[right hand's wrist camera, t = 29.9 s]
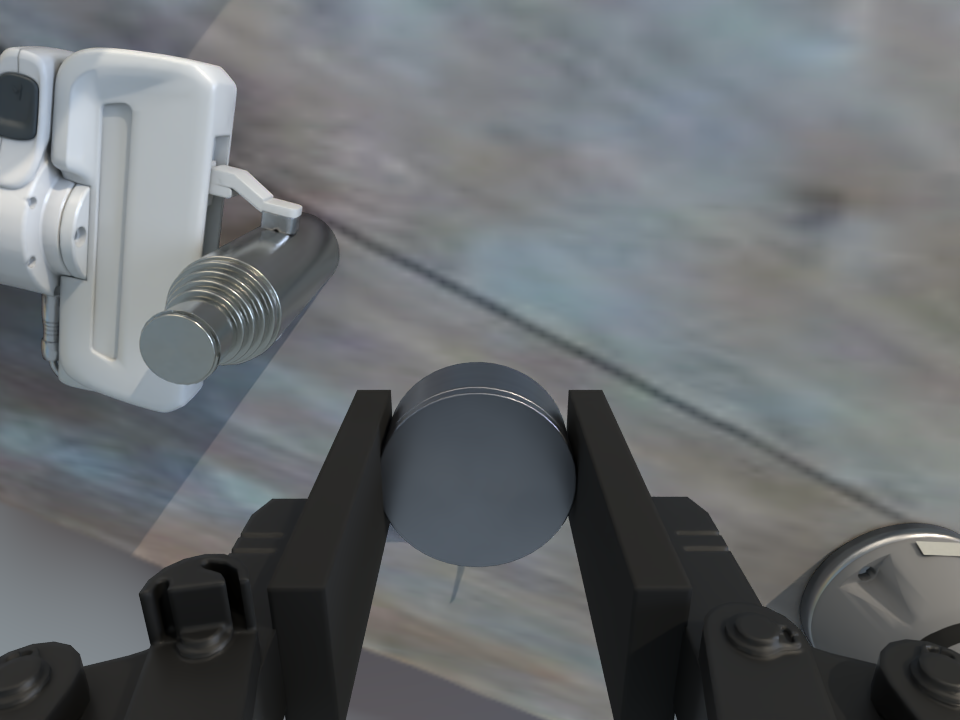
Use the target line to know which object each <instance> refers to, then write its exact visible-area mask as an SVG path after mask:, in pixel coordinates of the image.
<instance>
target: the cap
mask: <svg viewBox="0 0 960 720" xmlns="http://www.w3.org/2000/svg"><path fill="white" fill-rule="evenodd" d="M380 459H381V476H382V492H383V508H384V513H385V514H386V516H387V518H388V520H389V522H390V523H391V525H392V526H393V527H394V529H395V530H396V531H397V533H398V534H399V535H400V536H401V537H402V538H403V539H404V540H405V541H407V542H408V543H409V544H410V545H412V546H413V547H414V548H416V549H417V550H419V551H421V552H422V553H424V554H426V555H428V556H430V557H432V558H434V559H437V560H440V561H443V562H446V563H449V564H454V565H459V566H468V567H487V566H495V565H500V564H505V563H509V562H512V561H515V560H517V559H520V558H522V557H524V556H526V555H529V554H531V553H532V552H534V551H535V550H537V549H539V548H540V547H542V546H543V545H544V544H545V543H546V542H548V541H549V540H550V539H551V538H552V537H553V536H554V535H555V534H556V533H557V532H558V530H559V529H560V528H561V526H562V525H563V523H564V522H565V520H566V519H567V517H568V515H569V513H570V511H571V508H572V505H573V503H574V500H575V495H576V489H577V471H576V464H575V460H574V457H573V453H572V449H571V446H570V442H569V439H568V435H567V431H566V428H565V424H564V421H563V418H562V415H561V413H560V411H559V408H558V407H557V405H556V404H555V402H554V400H553V399H552V398H551V396H550V395H549V394H548V393H547V391H546V390H545V389H544V388H542V387H541V386H540V385H539V384H538V383H537V382H536V381H534V380H533V379H531V378H530V377H528V376H527V375H525V374H523V373H521V372H519V371H517V370H514V369H512V368H509V367H506V366H502V365H498V364H494V363H485V362H469V363H462V364H456V365H452V366H448V367H445V368H443V369H440V370H438V371H435V372H433V373H432V374H430V375H428V376H426V377H424V378H423V379H422V380H420V381H419V382H418V383H416V384H415V385H414V386H413V387H412V388H411V389H410V390H409V391H408V392H407V393H406V395H405V396H404V397H403V398H402V400H401V401H400V403H399V404H398V406H397V408H396V410H395V412H394V415H393V417H392V420H391V423H390V426H389V430H388V433H387V436H386V440H385V443H384V446H383V450H382V453H381V458H380Z"/></svg>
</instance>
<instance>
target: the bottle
mask: <svg viewBox="0 0 960 720" xmlns="http://www.w3.org/2000/svg"><path fill="white" fill-rule="evenodd" d="M338 261H339V247H338V243H337V240H336V237H335V235H334V233H333V232H332V230H331V229H330V228H329V226H328V225H327V224H326V223H325V222H323V221H322V220H321V219H319V218H317V217H316V216H314V215H311V214H308V213H305V212H302V214H301V219H300V224H299V230H298V232H296V233H295V234H284V233H282V232H279V231H278V230H277V229H275V230H268V229H264V228H261V226H259V227H257V228H256V229H254V230H252V231H250V232H248V233H246V234H244V235H242V236H241V237H239V238H237V239H235V240H233V241H231V242H229V243H228V244H226V245H224V246H222V247H220V248H218V249H216V250H215V251H213V252H211V253H209V254H207V255H205V256H203V257H201V258H200V259H198V260H196V261H194V262H192V263H191V264H189V265H188V266H187V267H185V268H184V269H183V270H182V271H181V272H180V273H179V275H178V276H177V277H176V279H175V280H174V281H173V283H172V284H171V286H170V289H169V291H168V294H167V299H166V305H165V309H164V311H162V312H160V313H157V314H155V315H154V316H152V317H151V318H150V319H149V320H148V321H147V322H146V323H145V325H144V327H143V329H142V331H141V335H140V340H139V347H140V352H141V356H142V358H143V360H144V362H145V363H146V365H147V366H148V367H149V369H150V370H151V371H152V372H153V373H155V374H156V375H157V376H159V377H160V378H162V379H164V380H166V381H168V382H172V383H175V384H180V385H191V384H197V383H199V382H201V381H203V380H205V379H206V378H207V377H209V376H210V375H211V374H212V373H213V372H214V371H215V370H216V368H217V367H218V366H220V365H234V364H240V363H244V362H247V361H249V360H251V359H253V358H255V357H257V356H259V355H261V354H262V353H264V352H265V351H267V350H268V349H269V348H270V347H271V346H272V344H273V343H274V342H275V341H276V340H277V339H278V337H279V336H280V335H281V334H282V333H283V332H284V331H285V329H286V328H287V327H288V326H289V325H290V324H291V322H292V321H293V320H294V319H295V318H296V317H297V315H298V314H299V313H300V312H301V311H302V310H303V308H304V307H305V306H306V305H307V304H308V303H309V302H310V300H311V299H312V298H313V297H314V296H315V295H316V293H317V292H318V291H319V290H320V289H321V288H322V286H323V285H324V284H325V283H326V282H327V281H328V279H329V278H330V277H331V276H332V275H333V273H334V272H335V270H336V268H337V265H338Z"/></svg>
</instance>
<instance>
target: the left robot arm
mask: <svg viewBox="0 0 960 720" xmlns="http://www.w3.org/2000/svg"><path fill="white" fill-rule="evenodd" d="M236 95H237V87H236V85H235V83H234V82H233V80H232V79H231V78H230V77H229V75H228V74H227V73H226V72H225V71H224V70H223V68H221V67H220V66H216V65H212V64H208V63H204V62H200V61H195V60H191V59H186V58H181V57H175V56H170V55H164V54H157V53H150V52H142V51H135V50H126V49H116V48H87V49H83V50H80V51H77V52H72V51H67V50H63V49H58V48H51V47H39V46H24V47H11V48H8V49H6V50H5V51H4V52H3V53H2V54H1V56H0V284H3V285H8V286H12V287H17V288H21V289H25V290H29V291H33V292H38V293H42V322H43V338H42V341H41V352H42V356H43V359H44V360H46V361H49V363H50V366H51V368H52V370H53V372H54V373H55V374H56V375H57V377H58V378H59V380H60V381H61V382H62V383H64V384H66V385H69V386H72V387H76V388H80V389H85V390H89V391H96V392H99V393H101V394H104V395H106V396H109V397H112V398H114V399H117V400H120V401H123V402H126V403H129V404H132V405H135V406H139V407H142V408H145V409H149V410H153V411H157V412H162V413H168V412H172V411H174V410H176V409H179V408H181V407H183V406H184V405H186V404H187V403H188V402H189V401H190V400H191V399H192V398H193V397H194V396H195V395H196V394H197V393H198V392H199V390H200V389H201V388H202V385H203V381H201V382H199V383H197V384H191V385H180V384H175V383H172V382H168V381H166V380H164V379H162V378H160V377H159V376H157V375H156V374H155V373H153V372H152V371H151V370H150V369H149V367H148V366H147V365H146V363H145V362H144V360H143V358H142V356H141V352H140V347H139V340H140V335H141V331H142V329H143V327H144V325H145V323H146V322H147V321H148V320H149V319H150V318H151V317H152V316H154V315H155V314H157V313H160V312H162V311H164V309H165V305H166V299H167V294H168V291H169V289H170V286H171V284H172V283H173V281H174V280H175V279H176V277H177V276H178V275H179V273H180V272H181V271H182V270H183V269H184V268H185V267H187V266H188V265H189V264H191V263H192V262H194V261H196V260H198V259H200V258H201V257H203V256H205V255H207V254H209V253H211V252H213V251H215V250H216V249H218V248H219V242H220V233H221V224H222V216H223V207H224V198H228V199H229V198H232V197H234V196H237V195H241V196H242V197H243V198H244V199H245V200H247V201H248V202H249V203H250V204H251V205H252V206H254V207H255V208H256V209H257V210H258V211H260V212H261V213H262V220H261V228H264V229H268V230H275V229H277V230H278V231H279V232H282V233H284V234H295V233H296V232H298V230H299V224H300V219H301V214H302V206H301V205H299V204H295V203H291V202H287V201H284V200H280V199H276V198H273V195H272V194H271V193H270V192H269V191H268V190H267V189H266V188H265V187H264V186H263V185H261V184H260V183H259V182H258V181H257V180H256V179H255V178H254V177H253V176H252V175H251V174H250V173H249V172H248V171H246V170H242V169H239V168H235V167H231V166H228V163H229V155H230V146H231V137H232V129H233V120H234V111H235V103H236ZM281 335H282V334H281ZM281 335H280V336H279V337H278V339H279V338H280V337H281ZM278 339H277V340H278ZM277 340H276V341H277ZM57 361H59V365H58V363H57Z"/></svg>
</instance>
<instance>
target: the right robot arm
mask: <svg viewBox="0 0 960 720" xmlns="http://www.w3.org/2000/svg"><path fill="white" fill-rule="evenodd" d="M391 420H392V404H391V390H357V392H356V394H355V396H354V399H353V401H352V403H351V405H350V407H349V409H348V412H347V414H346V416H345V418H344V420H343V423H342V425H341V427H340V429H339V431H338V434H337V436H336V438H335V440H334V442H333V444H332V447H331V449H330V451H329V453H328V455H327V458H326V460H325V462H324V464H323V466H322V469H321V471H320V473H319V475H318V477H317V479H316V482H315V484H314V486H313V488H312V490H311V493H310V495H309V497H308V499H272V500H270V501H269V502H268V503H266V504H265V505H264V506H263V507H261V508H260V509H259V510H258V511H256V512H255V513H254V514H252V516H251V517H250V519H249V521H248V522H247V524H246V526H245V528H244V529H243V531H242V533H241V537H240V538H238V540H237V541H236V543H235V545H234V547H233V548H232V553H229V555H225V554H204V555H199V556H195V557H191V558H186V559H183V560H181V561H179V562H177V563H174V564H172V565H170V566H168V567H166V568H164V569H163V570H161V571H160V572H159V573H157V574H156V575H155V576H153V577H152V578H151V579H149V580H148V582H147V583H146V584H145V586H144V587H143V589H142V590H141V591H140V593H139V597H140V601H141V605H142V610H143V614H144V618H145V623H146V627H147V631H148V636H149V640H150V644H151V646H150V648H149V649H147V650H145V651H142V652H139V653H135V654H132V655H129V656H125V657H121V658H117V659H113V660H109V661H104V662H100V663H96V664H92V665H88V666H84V667H83V664H82V660H81V657H80V654H79V653H78V652H77V651H76V650H75V649H74V648H73V647H72V646H71V645H67V644H62V643H58V642H47V643H38V644H32V645H29V646H26V647H23V648H20V649H17V650H14V651H11V652H8V653H6V654H5V655H3V656H1V657H0V720H283V719H284V716H285V718H286V720H346V716H347V711H348V707H349V702H350V698H351V693H352V689H353V685H354V680H355V675H356V671H357V667H358V662H359V658H360V653H361V649H362V644H363V640H364V636H365V631H366V627H367V622H368V618H369V613H370V609H371V604H372V600H373V595H374V591H375V587H376V582H377V578H378V573H379V569H380V564H381V560H382V555H383V551H384V546H385V542H386V537H387V533H388V529H389V524H390V522H389V520H388V518H387V516H386V514H385V513H384V508H383V492H382V476H381V459H380V458H381V453H382V450H383V446H384V443H385V440H386V436H387V433H388V430H389V426H390V423H391ZM567 435H568V439H569V442H570V446H571V449H572V453H573V457H574V460H575V464H576V471H577V489H576V495H575V500H574V503H573V505H572V508H571V511H570V513H569V515H568V517H569V521H570V526H571V530H572V535H573V539H574V544H575V548H576V553H577V557H578V562H579V566H580V571H581V575H582V579H583V584H584V588H585V593H586V597H587V602H588V606H589V611H590V615H591V620H592V624H593V628H594V633H595V637H596V642H597V646H598V651H599V655H600V660H601V664H602V669H603V673H604V678H605V682H606V686H607V691H608V695H609V700H610V704H611V709H612V713H613V718H614V720H674V715H675V714H676V717H677V720H960V535H959V534H958V533H956V532H954V531H952V530H949V529H946V528H944V527H940V526H936V525H930V524H920V523H909V524H898V525H893V526H887V527H884V528H880V529H877V530H874V531H871V532H868V533H866V534H863V535H861V536H859V537H857V538H855V539H853V540H851V541H850V542H848V543H846V544H845V545H843V546H842V547H840V548H839V549H838V550H836V551H835V552H834V553H833V554H831V555H830V556H829V557H828V558H827V559H826V560H825V561H824V562H823V563H822V564H821V565H820V566H819V568H818V569H817V570H816V571H815V573H814V574H813V576H812V577H811V579H810V581H809V582H808V584H807V586H806V589H805V591H804V594H803V597H802V602H801V609H800V616H801V623H802V627H803V630H804V632H805V634H806V636H807V638H808V640H809V641H810V643H811V645H812V646H813V647H812V646H810V645H809V643H808V641H807V640H806V638H805V637H804V635H803V633H802V632H801V630H800V629H799V628H798V627H796V626H795V625H794V624H793V623H792V622H791V621H789V620H788V619H787V618H786V617H785V616H783V615H781V614H779V613H777V612H775V611H773V610H771V609H769V608H767V607H764V606H762V604H761V603H760V601H759V599H758V598H757V596H756V594H755V593H754V591H753V589H752V587H751V586H750V584H749V582H748V581H747V579H746V577H745V575H744V574H743V572H742V570H741V569H740V567H739V565H738V563H737V562H736V560H735V558H734V557H733V555H732V553H731V551H728V546H727V545H726V543H725V541H724V539H723V538H722V536H721V535H719V531H718V529H717V527H716V526H715V524H714V522H713V521H712V519H711V517H710V516H709V514H708V513H707V512H706V511H705V510H704V509H702V508H701V507H700V506H698V505H697V504H696V503H695V502H693V501H692V500H691V499H689V498H688V497H651V496H650V494H649V491H648V489H647V487H646V485H645V483H644V480H643V478H642V476H641V474H640V472H639V470H638V467H637V465H636V463H635V461H634V459H633V456H632V454H631V452H630V450H629V448H628V445H627V443H626V441H625V439H624V437H623V435H622V432H621V430H620V428H619V426H618V424H617V421H616V419H615V417H614V415H613V413H612V410H611V408H610V406H609V404H608V402H607V400H606V397H605V395H604V393H603V391H602V390H569V396H568V415H567Z"/></svg>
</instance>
